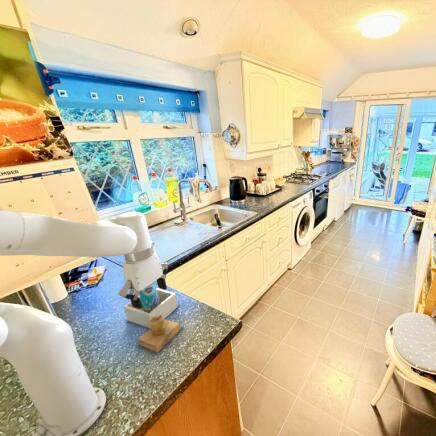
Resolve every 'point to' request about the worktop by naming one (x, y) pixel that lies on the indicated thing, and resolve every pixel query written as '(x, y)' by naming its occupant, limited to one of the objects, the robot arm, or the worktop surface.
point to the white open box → (164, 309)
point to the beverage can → (149, 297)
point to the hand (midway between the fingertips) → (151, 297)
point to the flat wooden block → (159, 336)
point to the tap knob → (157, 325)
